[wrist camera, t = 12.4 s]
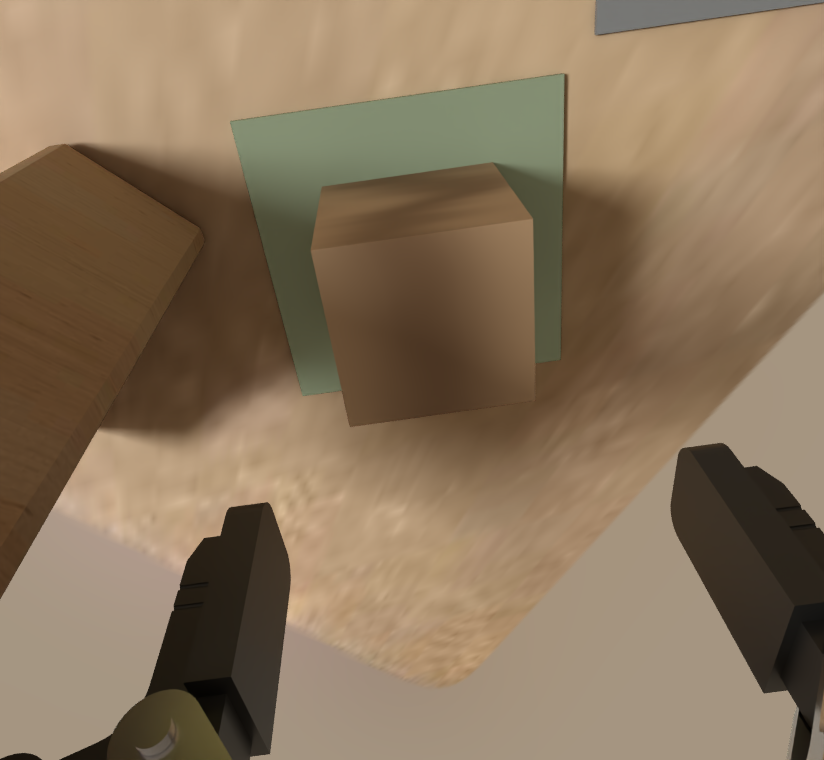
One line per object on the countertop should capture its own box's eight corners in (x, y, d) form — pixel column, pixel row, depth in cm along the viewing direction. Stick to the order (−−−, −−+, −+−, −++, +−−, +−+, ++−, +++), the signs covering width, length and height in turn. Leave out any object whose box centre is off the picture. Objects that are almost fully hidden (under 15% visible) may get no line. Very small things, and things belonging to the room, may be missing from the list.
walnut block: (492, 162, 22) (533, 218, 17) (499, 315, 25) (535, 400, 20) (321, 186, 22) (310, 250, 17) (351, 336, 25) (350, 426, 20)
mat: (562, 73, 20) (564, 74, 20) (559, 358, 26) (560, 359, 26) (230, 121, 20) (229, 121, 20) (302, 394, 27) (302, 396, 26)
